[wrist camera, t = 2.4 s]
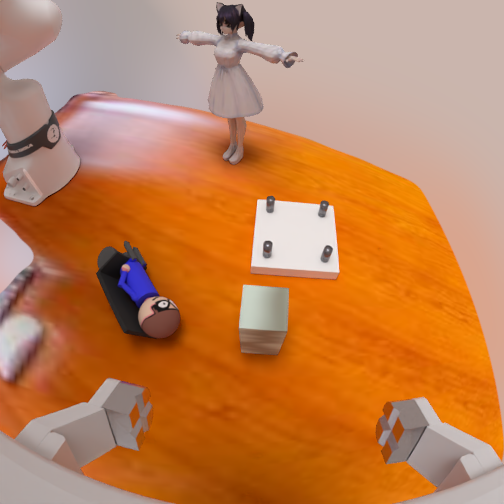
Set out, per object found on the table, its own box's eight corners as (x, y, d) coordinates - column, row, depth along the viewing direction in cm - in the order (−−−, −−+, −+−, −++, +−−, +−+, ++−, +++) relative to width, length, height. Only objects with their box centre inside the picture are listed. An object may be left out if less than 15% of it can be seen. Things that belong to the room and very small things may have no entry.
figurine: (177, 144, 57) (155, 6, 32) (206, 126, 61) (195, -3, 36) (276, 198, 49) (293, 16, 24) (303, 172, 53) (328, 12, 28)
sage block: (241, 352, 36) (238, 327, 27) (244, 318, 38) (243, 284, 30) (277, 355, 35) (287, 331, 27) (279, 321, 38) (288, 288, 29)
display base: (250, 273, 42) (251, 256, 38) (257, 207, 48) (258, 188, 44) (335, 279, 41) (344, 263, 37) (330, 214, 48) (336, 195, 44)
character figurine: (143, 254, 44) (191, 334, 37) (102, 275, 41) (143, 361, 34) (131, 220, 37) (183, 311, 31) (83, 244, 34) (125, 343, 28)
